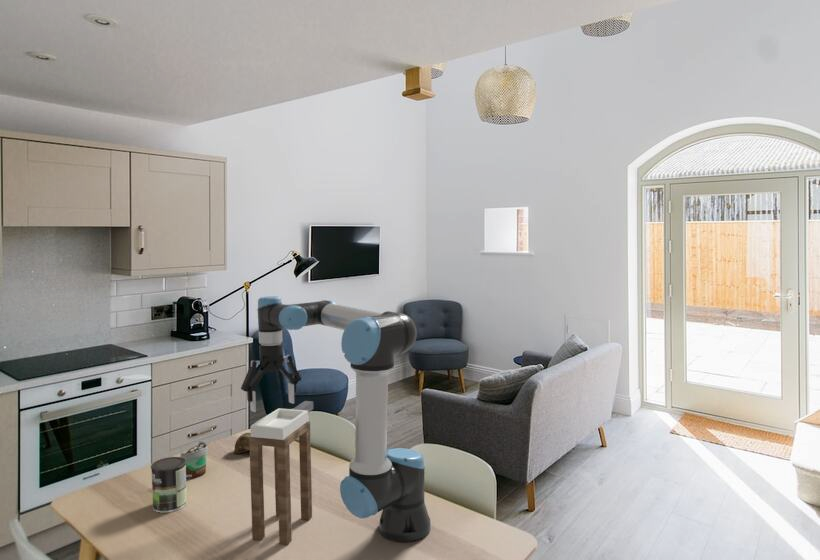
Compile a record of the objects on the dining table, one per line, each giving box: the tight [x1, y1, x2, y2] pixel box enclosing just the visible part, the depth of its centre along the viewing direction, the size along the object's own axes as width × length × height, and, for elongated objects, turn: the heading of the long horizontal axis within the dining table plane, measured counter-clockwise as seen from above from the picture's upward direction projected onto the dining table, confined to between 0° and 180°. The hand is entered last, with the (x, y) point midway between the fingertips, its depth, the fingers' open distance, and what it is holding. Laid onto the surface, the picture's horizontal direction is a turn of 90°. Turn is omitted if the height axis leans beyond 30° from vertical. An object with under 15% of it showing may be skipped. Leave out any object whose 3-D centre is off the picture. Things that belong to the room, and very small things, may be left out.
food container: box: [179, 441, 209, 480], centre depth 195 cm, size 12×6×10 cm, turn 168°
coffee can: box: [150, 456, 188, 514], centre depth 172 cm, size 10×10×14 cm
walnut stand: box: [249, 421, 313, 546], centre depth 157 cm, size 16×11×30 cm
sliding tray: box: [250, 400, 314, 440], centre depth 161 cm, size 27×10×3 cm, turn 165°
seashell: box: [233, 431, 251, 454], centre depth 216 cm, size 11×9×8 cm
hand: (272, 406), depth 177 cm, fingers open, 13 cm apart
